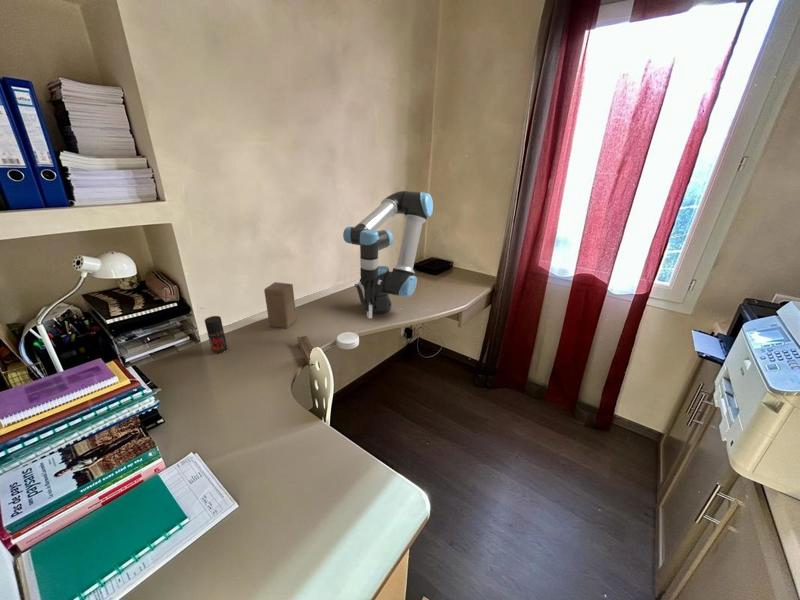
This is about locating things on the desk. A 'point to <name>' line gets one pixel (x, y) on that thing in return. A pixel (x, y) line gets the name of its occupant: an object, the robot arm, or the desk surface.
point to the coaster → (347, 340)
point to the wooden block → (280, 304)
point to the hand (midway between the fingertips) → (369, 317)
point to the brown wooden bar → (305, 347)
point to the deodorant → (216, 334)
